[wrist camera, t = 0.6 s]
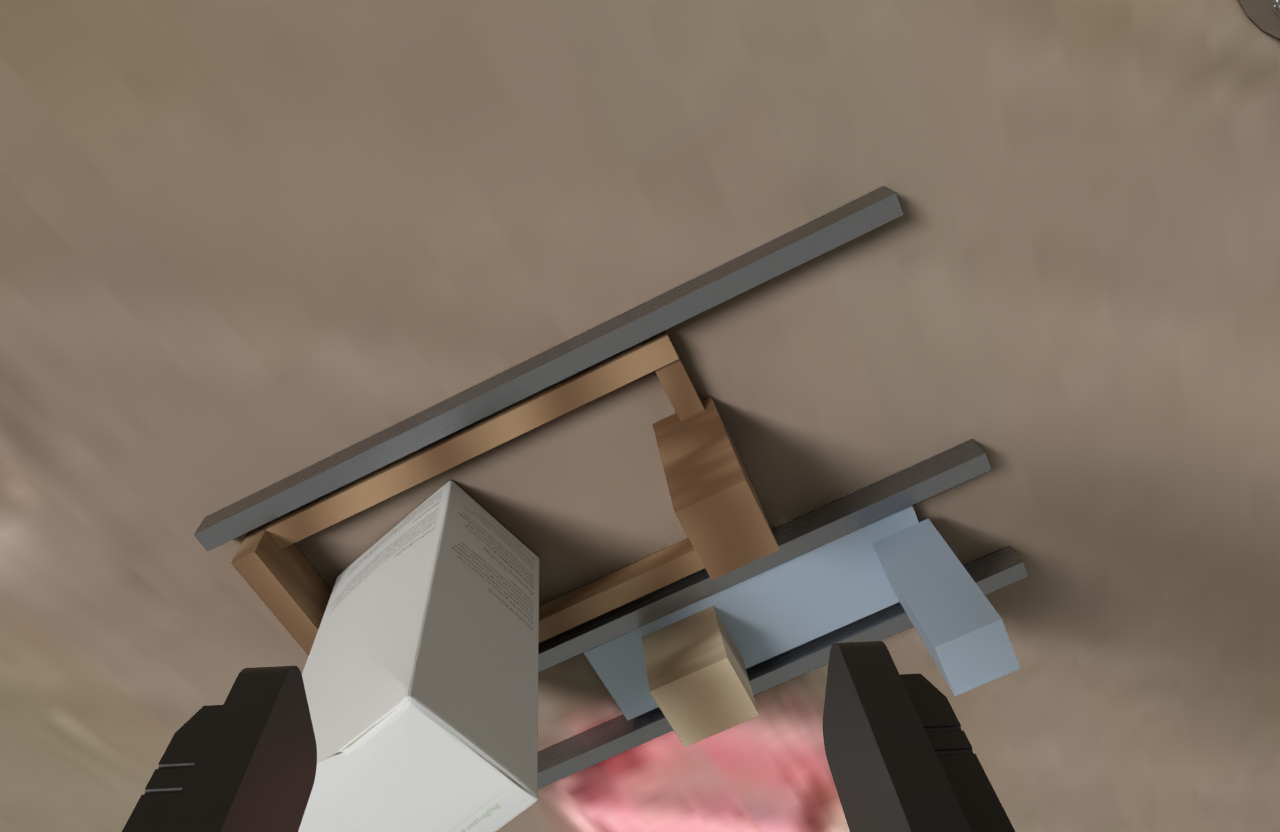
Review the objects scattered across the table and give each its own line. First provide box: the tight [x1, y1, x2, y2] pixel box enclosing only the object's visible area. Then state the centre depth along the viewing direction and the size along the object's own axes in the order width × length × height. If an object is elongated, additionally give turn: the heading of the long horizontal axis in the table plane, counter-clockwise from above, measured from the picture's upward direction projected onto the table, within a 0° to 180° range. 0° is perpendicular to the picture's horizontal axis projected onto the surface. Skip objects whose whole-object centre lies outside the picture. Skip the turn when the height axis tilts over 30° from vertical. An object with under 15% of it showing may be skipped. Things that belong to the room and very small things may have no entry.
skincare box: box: [298, 480, 540, 832], centre depth 38 cm, size 8×7×16 cm
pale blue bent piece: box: [583, 505, 1020, 720], centre depth 43 cm, size 18×5×9 cm, turn 115°
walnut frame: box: [231, 330, 780, 656], centre depth 40 cm, size 22×12×8 cm, turn 115°
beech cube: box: [641, 606, 759, 747], centre depth 45 cm, size 4×4×4 cm
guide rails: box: [194, 186, 1028, 789], centre depth 44 cm, size 34×22×2 cm, turn 115°
